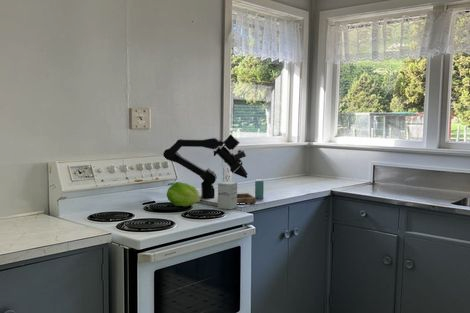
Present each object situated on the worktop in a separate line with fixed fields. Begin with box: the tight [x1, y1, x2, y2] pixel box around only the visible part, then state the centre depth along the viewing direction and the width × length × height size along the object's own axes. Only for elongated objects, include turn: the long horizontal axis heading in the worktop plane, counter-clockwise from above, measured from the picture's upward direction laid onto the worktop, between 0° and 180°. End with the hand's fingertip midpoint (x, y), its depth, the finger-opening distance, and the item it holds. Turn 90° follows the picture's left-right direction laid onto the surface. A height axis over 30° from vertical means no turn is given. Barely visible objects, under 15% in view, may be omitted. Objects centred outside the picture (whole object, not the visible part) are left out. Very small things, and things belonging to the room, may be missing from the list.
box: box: [237, 192, 257, 204], centre depth 246 cm, size 13×13×3 cm
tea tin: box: [254, 178, 265, 200], centre depth 256 cm, size 4×4×10 cm
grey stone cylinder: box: [217, 180, 238, 210], centre depth 231 cm, size 7×7×13 cm
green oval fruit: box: [166, 181, 202, 207], centre depth 232 cm, size 14×20×12 cm
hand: (246, 176), depth 255 cm, fingers open, 9 cm apart
